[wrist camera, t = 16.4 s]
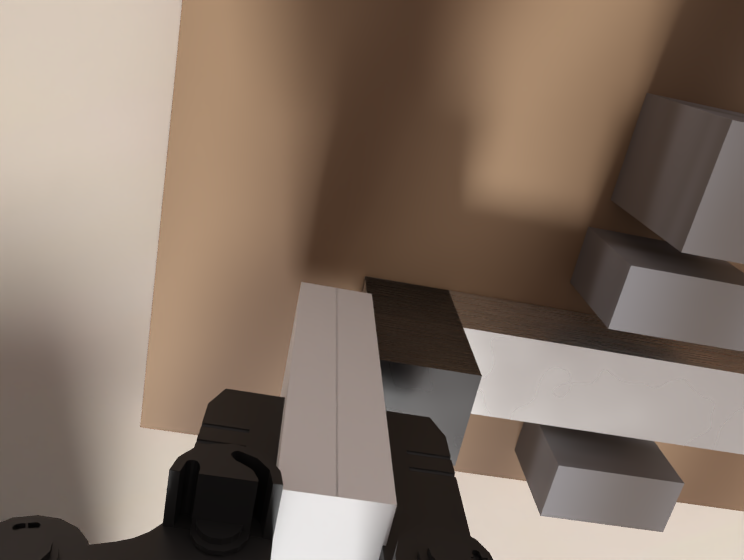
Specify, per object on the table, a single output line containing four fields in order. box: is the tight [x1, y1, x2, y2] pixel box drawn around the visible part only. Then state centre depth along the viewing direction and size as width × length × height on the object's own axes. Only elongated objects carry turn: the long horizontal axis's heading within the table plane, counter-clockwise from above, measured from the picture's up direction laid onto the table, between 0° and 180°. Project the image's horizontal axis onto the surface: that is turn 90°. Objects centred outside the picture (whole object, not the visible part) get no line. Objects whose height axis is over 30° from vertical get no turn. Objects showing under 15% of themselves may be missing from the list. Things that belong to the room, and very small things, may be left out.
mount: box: [140, 0, 744, 532], centre depth 14 cm, size 20×20×5 cm
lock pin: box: [362, 276, 744, 466], centre depth 15 cm, size 10×2×4 cm, turn 78°
